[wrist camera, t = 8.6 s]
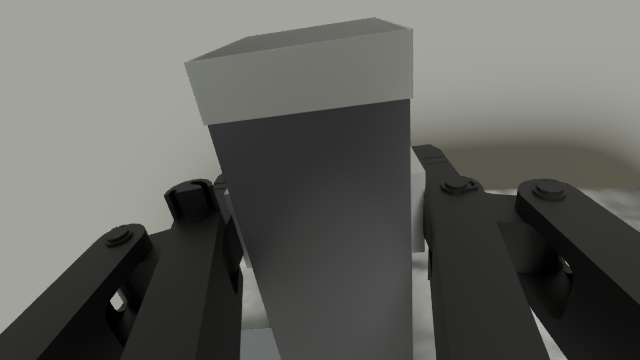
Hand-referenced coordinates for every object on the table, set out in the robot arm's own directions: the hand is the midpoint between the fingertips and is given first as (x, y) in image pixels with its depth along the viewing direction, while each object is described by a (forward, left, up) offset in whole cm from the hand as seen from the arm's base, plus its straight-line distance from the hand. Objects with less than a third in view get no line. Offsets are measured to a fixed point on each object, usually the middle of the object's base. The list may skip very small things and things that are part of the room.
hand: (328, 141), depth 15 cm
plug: (0, +5, -6) cm, 8 cm away
